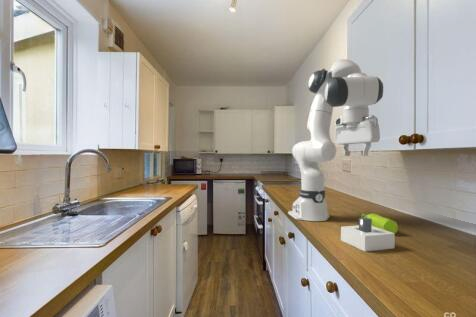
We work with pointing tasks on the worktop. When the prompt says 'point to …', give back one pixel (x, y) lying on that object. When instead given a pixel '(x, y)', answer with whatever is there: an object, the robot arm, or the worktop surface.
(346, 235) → the socket block
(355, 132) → the robot arm
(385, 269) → the worktop surface
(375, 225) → the soap dispenser
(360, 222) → the metal peg
